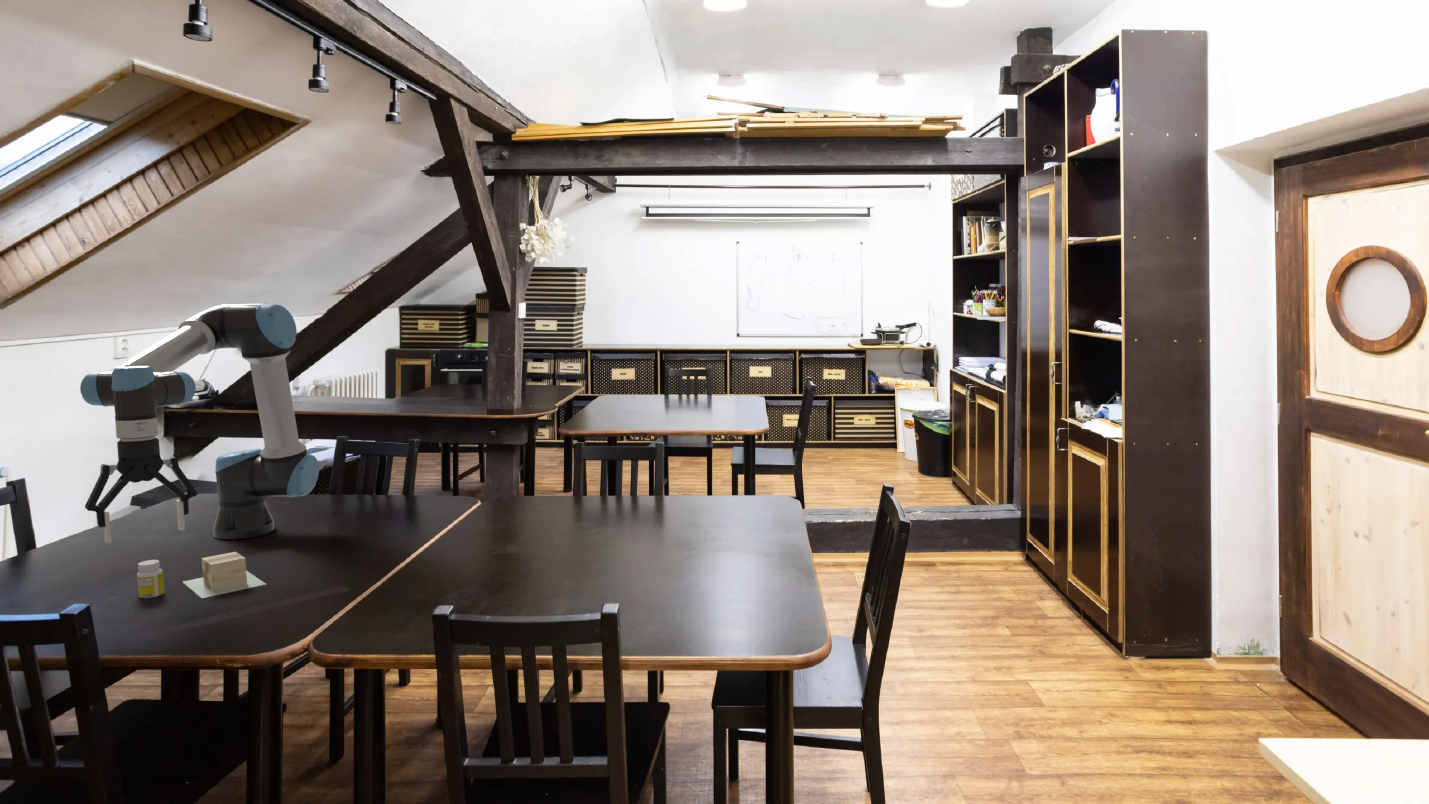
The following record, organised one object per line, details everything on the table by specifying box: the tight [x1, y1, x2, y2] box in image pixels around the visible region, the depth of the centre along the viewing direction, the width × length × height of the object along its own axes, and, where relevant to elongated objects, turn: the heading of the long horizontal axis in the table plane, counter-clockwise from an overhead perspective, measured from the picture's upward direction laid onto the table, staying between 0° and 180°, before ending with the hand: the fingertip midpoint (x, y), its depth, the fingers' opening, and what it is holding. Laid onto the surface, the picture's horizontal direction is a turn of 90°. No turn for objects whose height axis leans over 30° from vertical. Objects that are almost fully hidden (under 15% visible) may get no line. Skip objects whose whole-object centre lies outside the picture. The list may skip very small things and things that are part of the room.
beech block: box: [201, 551, 247, 591], centre depth 196 cm, size 7×7×6 cm
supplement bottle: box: [136, 559, 166, 599], centre depth 190 cm, size 5×5×8 cm
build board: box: [182, 570, 267, 599], centre depth 198 cm, size 16×13×1 cm
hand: (145, 535), depth 188 cm, fingers open, 13 cm apart
